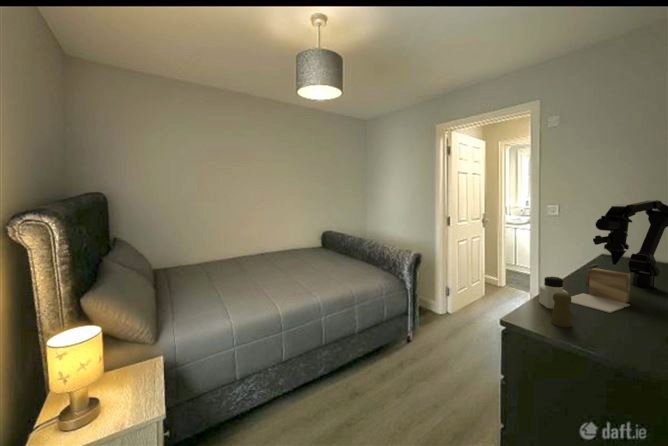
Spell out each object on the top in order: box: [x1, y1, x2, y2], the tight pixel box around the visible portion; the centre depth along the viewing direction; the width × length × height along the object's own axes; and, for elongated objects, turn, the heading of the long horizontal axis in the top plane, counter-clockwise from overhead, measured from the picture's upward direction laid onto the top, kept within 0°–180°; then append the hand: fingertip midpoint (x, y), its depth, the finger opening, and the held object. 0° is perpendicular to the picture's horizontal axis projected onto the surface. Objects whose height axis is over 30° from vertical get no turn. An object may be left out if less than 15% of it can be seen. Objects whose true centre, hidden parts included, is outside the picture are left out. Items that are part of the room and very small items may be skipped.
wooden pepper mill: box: [550, 293, 573, 328], centre depth 102 cm, size 6×6×11 cm
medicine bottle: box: [538, 275, 569, 310], centre depth 118 cm, size 7×7×12 cm
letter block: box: [588, 267, 631, 304], centre depth 125 cm, size 4×12×12 cm, turn 25°
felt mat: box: [570, 292, 631, 314], centre depth 121 cm, size 16×16×1 cm
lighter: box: [586, 263, 598, 286], centre depth 145 cm, size 8×3×10 cm, turn 118°
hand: (614, 264), depth 135 cm, fingers closed
